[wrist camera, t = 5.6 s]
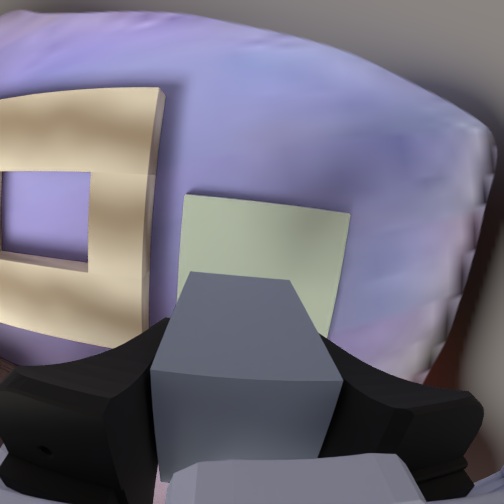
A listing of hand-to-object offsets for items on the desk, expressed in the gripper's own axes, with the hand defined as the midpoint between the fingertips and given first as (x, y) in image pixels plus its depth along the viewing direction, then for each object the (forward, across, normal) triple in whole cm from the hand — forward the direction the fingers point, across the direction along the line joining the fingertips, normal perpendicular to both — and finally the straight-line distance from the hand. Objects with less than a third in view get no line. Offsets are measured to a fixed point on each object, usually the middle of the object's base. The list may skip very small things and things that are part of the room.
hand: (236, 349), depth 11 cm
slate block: (+2, 0, 0) cm, 2 cm away
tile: (+9, -2, 0) cm, 10 cm away
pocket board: (+9, +13, -3) cm, 17 cm away
